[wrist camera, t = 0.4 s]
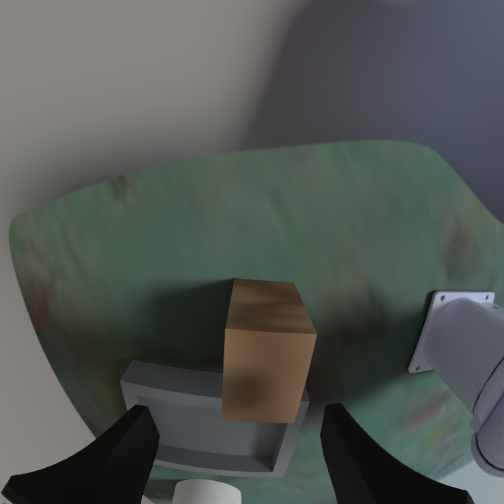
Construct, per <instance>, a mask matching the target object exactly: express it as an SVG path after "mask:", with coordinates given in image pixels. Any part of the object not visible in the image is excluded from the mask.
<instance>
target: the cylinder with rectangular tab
mask: <svg viewBox="0 0 504 504" xmlns="http://www.w3.org/2000/svg"><path fill="white" fill-rule="evenodd" d="M172 504H241V493H240V491H239V490H238V489H237V488H235V487H233V486H231V485H228V484H224V483H221V482H216V481H211V480H202V479H188V480H183V481H180V482H178V483H177V484H176V487H175V492H174V496H173V501H172Z"/></svg>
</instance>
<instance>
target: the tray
mask: <svg viewBox="0 0 504 504" xmlns="http://www.w3.org/2000/svg"><path fill="white" fill-rule="evenodd" d="M120 384H121V388H122V392H123V396H124V400H125V404H126V407H127V411H128V410H130V409H131V408H132V407H133V406H134V405H135V404H137V405H143V406H148V407H149V410H150V413H151V415H152V417H153V420H154V422H155V425H156V427H157V429H158V432H159V434H160V439H159V445H158V450H157V454H156V457H155V460H154V463H153V464H156V465H160V466H165V467H170V468H175V469H180V470H186V471H192V472H199V473H207V474H215V475H226V476H240V477H283V476H284V473H285V471H286V468H287V466H288V463H289V461H290V458H291V456H292V453H293V450H294V447H295V445H296V442H297V439H298V436H299V433H300V430H301V427H302V424H303V421H304V418H305V415H306V412H307V409H308V406H309V403H310V400H309V396H308V392H307V389H306V385H305V386H304V390H303V394H302V398H301V401H300V405H299V408H298V412H297V415H296V418H295V422H294V423H259V422H240V421H228V420H221V417H222V390H223V373H217V372H208V371H200V370H192V369H185V368H178V367H172V366H166V365H160V364H154V363H149V362H144V361H139V360H134V359H133V360H132V362H131V363H130V365H129V366H128V368H127V369H126V371H125V373H124V374H123V376H122V377H121V379H120Z"/></svg>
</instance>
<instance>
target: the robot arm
mask: <svg viewBox="0 0 504 504" xmlns="http://www.w3.org/2000/svg"><path fill="white" fill-rule="evenodd" d="M441 296H442V298H441ZM493 299H494V293H493V292H481V291H436V292H435V293H434V294H433V297H432V300H431V304H430V307H429V311H428V314H427V317H426V320H425V324H424V327H423V330H422V333H421V335H420V338H419V341H418V344H417V347H416V349H415V352H414V354H413V357H412V360H411V362H410V364H409V367H408V371H409V372H410V373H416V372H422V371H428V370H433V369H434V370H435V372H436V373H437V374H438V375H439V376H440V377H441V378H442V379H443V381H444V382H445V383H446V384H447V385H448V386H449V387H450V389H451V390H452V391H453V392H454V393H455V394H456V395H457V397H458V398H459V399H460V400H461V401H462V403H463V404H464V405H465V406H466V407H467V408H468V410H469V411H470V412H471V413H472V414H473V418H472V420H471V421H470V423H469V424H470V426H471V427H472V428H473V430H474V431H475V432H474V434H473V436H472V440H471V450H472V454H473V457H474V459H475V461H476V463H477V464H478V466H479V467H480V468H481V469H482V470H483V471H484V472H486V473H488V474H490V475H493V476H497V477H503V478H504V309H502V308H501V307H499V306H497V305H496V304H494V303H493ZM320 437H321V443H322V449H323V455H324V458H325V462H326V465H327V468H328V472H329V475H330V478H331V481H332V485H333V488H334V491H335V494H336V498H337V503H338V504H474V502H473V500H472V498H471V496H470V495H469V493H468V492H467V491H466V490H461V489H458V488H454V487H451V486H447V485H445V484H442V483H439V482H437V481H434V480H432V479H430V478H428V477H426V476H424V475H422V474H420V473H418V472H416V471H414V470H412V469H411V468H409V467H408V466H406V465H404V464H403V463H401V462H400V461H399V460H397V459H396V458H394V457H393V456H392V455H390V454H389V453H388V452H387V451H386V450H384V449H383V448H382V447H381V446H380V445H379V444H378V443H377V442H375V441H374V440H373V439H372V438H371V437H370V436H369V435H368V434H367V433H366V432H365V431H364V430H363V428H362V427H361V426H360V425H359V424H358V423H357V422H356V421H355V420H354V418H353V417H352V416H351V415H350V414H349V412H348V411H347V410H346V409H345V407H344V406H343V405H342V404H341V403H336V404H330V405H325V411H324V417H323V423H322V428H321V433H320ZM159 439H160V434H159V432H158V429H157V427H156V425H155V422H154V420H153V417H152V415H151V413H150V410H149V407H148V406H143V405H137V404H135V405H134V406H133V407H132V408H131V409H130V410H128V411H127V412H126V413H125V414H124V415H123V416H122V417H121V418H120V419H119V420H118V421H117V422H116V423H114V424H113V425H112V426H111V427H110V428H109V429H108V430H107V431H105V432H104V433H103V434H102V435H101V436H100V437H98V438H97V439H96V440H95V441H93V442H92V443H91V444H89V445H88V446H86V447H85V448H84V449H82V450H81V451H79V452H77V453H76V454H74V455H73V456H71V457H69V458H67V459H65V460H63V461H61V462H58V463H56V464H54V465H52V466H49V467H46V468H44V469H41V470H37V471H34V472H30V473H25V474H20V475H14V476H11V477H10V479H9V481H8V482H7V484H6V485H5V487H4V488H3V490H2V492H1V493H2V495H3V496H4V497H5V498H6V499H8V500H9V501H10V502H11V503H12V504H141V499H142V496H143V492H144V489H145V486H146V483H147V480H148V478H149V475H150V472H151V469H152V466H153V463H154V460H155V457H156V454H157V450H158V445H159ZM3 504H6V503H3Z"/></svg>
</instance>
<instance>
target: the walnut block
mask: <svg viewBox="0 0 504 504" xmlns="http://www.w3.org/2000/svg"><path fill="white" fill-rule="evenodd" d="M316 337H317V333H316V330H315V328H314V326H313V324H312V321H311V319H310V317H309V315H308V312H307V310H306V308H305V306H304V304H303V301H302V299H301V297H300V295H299V292H298V290H297V288H296V286H295V284H294V283H289V282H275V281H262V280H250V279H238V278H235V279H234V285H233V290H232V295H231V301H230V306H229V312H228V317H227V323H226V328H225V346H224V367H223V390H222V417H221V420H228V421H240V422H259V423H294V422H295V418H296V415H297V412H298V408H299V405H300V401H301V398H302V394H303V390H304V386H305V383H306V379H307V375H308V371H309V367H310V363H311V358H312V354H313V350H314V346H315V341H316Z"/></svg>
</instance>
